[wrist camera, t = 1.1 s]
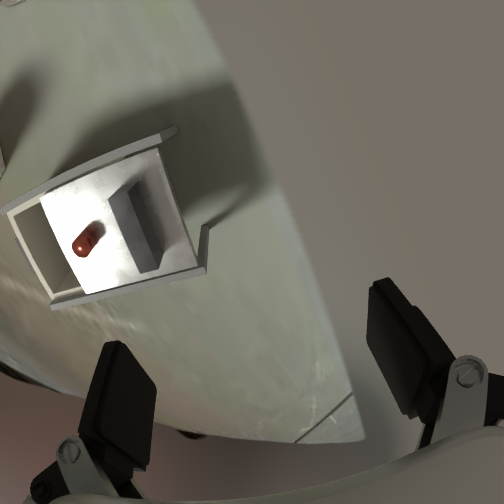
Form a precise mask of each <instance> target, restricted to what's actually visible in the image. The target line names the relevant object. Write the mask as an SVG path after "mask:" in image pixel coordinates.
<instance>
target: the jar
mask: <svg viewBox="0 0 504 504" xmlns="http://www.w3.org/2000/svg"><path fill="white" fill-rule="evenodd" d="M4 170H5V164H4V160H3V156H2V152H1V147H0V178H1V176H2V174H3V172H4Z"/></svg>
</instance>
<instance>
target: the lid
mask: <svg viewBox="0 0 504 504" xmlns="http://www.w3.org/2000/svg"><path fill="white" fill-rule="evenodd" d="M39 199H40V201H41V204H42V206H43V209H44V211H45V213H46V216H47V218H48V220H49V222H50V225H51V227H52V229H53V231H54V233H55V236H56V238H57V240H58V242H59V244H60V246H61V248H62V250H63V252H64V254H65V256H66V258H67V260H68V262H69V263H70V265H71V267H72V269H73V271H74V273H75V275H76V276H77V278H78V280H79V282H80V284H81V285H82V287H83V289H84V290H85V292H86V294H89V293H93V292H97V291H101V290H105V289H109V288H113V287H117V286H121V285H125V284H129V283H133V282H137V281H141V280H145V279H149V278H153V277H157V276H161V275H165V274H169V273H172V272H176V271H180V270H184V269H188V268H192V267H196V266H198V258H197V255H196V252H195V250H194V247H193V244H192V241H191V239H190V236H189V233H188V230H187V227H186V225H185V222H184V219H183V216H182V213H181V210H180V207H179V204H178V201H177V199H176V196H175V193H174V190H173V187H172V184H171V180H170V177H169V174H168V171H167V168H166V165H165V162H164V159H163V155H162V152H161V149H160V146H158V147H156V148H153V149H150V150H147V151H144V152H141V153H139V154H136V155H133V156H130V157H128V158H125V159H123V160H120V161H117V162H115V163H112V164H110V165H107V166H105V167H103V168H100V169H98V170H95V171H93V172H91V173H89V174H86V175H84V176H82V177H80V178H77V179H75V180H73V181H71V182H69V183H67V184H64V185H62V186H60V187H58V188H56V189H54V190H52V191H50V192H48V193H46V194H44V195H43V196H41V197H40V198H39Z"/></svg>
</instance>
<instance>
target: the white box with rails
mask: <svg viewBox="0 0 504 504" xmlns="http://www.w3.org/2000/svg"><path fill="white" fill-rule="evenodd" d="M177 132H179V130H178V126H177V125H175V126H172V127H169V128H167V129H165V130H163V131H161V132H158V133H156V134H154V135H152V136H149V137H146V138H143V139H141V140H138V141H135V142H133V143H130V144H127V145H125V146H122V147H120V148H117V149H115V150H112V151H110V152H108V153H105V154H103V155H101V156H98V157H96V158H94V159H91V160H89V161H87V162H85V163H83V164H80V165H78V166H76V167H74V168H72V169H70V170H68V171H66V172H64V173H62V174H60V175H58V176H56V177H54V178H52V179H50V180H48V181H46V182H44V183H42V184H41V185H39V186H37V187H35V188H33V189H31V190H30V191H28V192H26V193H24V194H23V195H21V196H19V197H18V198H16V199H14V200H13V201H11V202H9V203H8V204H6V205H5V206H3V207H2V208H0V213H1V216H2V215H4V214H5V213H7V215H8V217H9V219H10V222H11V224H12V226H13V228H14V231H15V233H16V235H17V238H16V239H15V240H16V242H17V244H18V246H19V248H20V250H21V252H22V254H23V256H24V257H25V259H26V261H27V263H28V265H29V267H30V269H31V270H32V272H33V274H34V273H36V274H37V275H38V277H39V279H40V281H41V282H42V284H43V286H44V288H45V289H46V291H47V292H48V294H49V296H50V297H51V299H52V300H53V301H52V302H51V303H50V305H49V306H50V307H51V309H52V310H57V309H62V308H66V307H70V306H75V305H79V304H83V303H87V302H92V301H96V300H100V299H104V298H109V297H113V296H117V295H121V294H125V293H130V292H134V291H138V290H142V289H146V288H150V287H155V286H159V285H163V284H167V283H171V282H175V281H179V280H183V279H187V278H191V277H196V276H200V275H204V274H207V257H208V240H209V228H208V225H204V226H201V232H200V239H199V248H198V256H197V258H198V266H196V267H192V268H188V269H184V270H180V271H176V272H172V273H169V274H165V275H161V276H157V277H153V278H149V279H145V280H141V281H137V282H133V283H129V284H125V285H121V286H117V287H113V288H109V289H105V290H101V291H97V292H93V293H89V294H86V292H85V290H84V289H83V287H82V285H81V284H80V282H79V280H78V278H77V276H76V275H75V273H74V271H73V269H72V267H71V265H70V263H69V262H68V260H67V258H66V256H65V254H64V252H63V250H62V248H61V246H60V244H59V242H58V240H57V238H56V236H55V233H54V231H53V229H52V227H51V225H50V222H49V220H48V218H47V216H46V213H45V211H44V209H43V206H42V204H41V201H40V199H39V198H40V197H41V196H43V195H44V194H46V193H48V192H50V191H52V190H54V189H56V188H58V187H60V186H62V185H64V184H67V183H69V182H71V181H73V180H75V179H77V178H80V177H82V176H84V175H86V174H89V173H91V172H93V171H95V170H98V169H100V168H103V167H105V166H107V165H110V164H112V163H115V162H117V161H120V160H123V159H125V158H126V157H125V155H128V154H131V153H133V152H136V151H139V150H141V149H144V148H147V147H150V146H153V145H156V144H159V143H162V142H163V141H165V140H166V139H168V138H169V137H171V136H173V135H174V134H176V133H177ZM83 292H85V293H83ZM79 293H81V294H79ZM75 294H77V295H75ZM71 295H73V296H71ZM67 296H69V297H67ZM63 297H65V298H63ZM60 298H61V299H60ZM56 299H57V300H56Z"/></svg>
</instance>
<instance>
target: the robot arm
mask: <svg viewBox="0 0 504 504" xmlns="http://www.w3.org/2000/svg"><path fill="white" fill-rule="evenodd" d="M23 1H25V0H0V5H2V6H7V7H9V6H14V5H17V4H19V3H21V2H23ZM366 340H367V344H368V346H369V348H370V350H371V352H372V354H373V356H374V358H375V360H376V362H377V364H378V366H379V368H380V369H381V372H382V373H383V376H384V378H385V380H386V381H387V383H388V385H389V388H390V390H391V392H392V394H393V396H394V398H395V400H396V402H397V404H398V406H399V408H400V411H401V412H402V414H403V415H406V414H407V415H408V417H409V419H413V418H415V417H417V416H419V418H420V420H421V422H422V423H423V426H422V430H421V433H420V436H419V440H418V443H417V446H416V449H415V452H413V453H411V454H408V455H406V456H404V457H401V458H399V459H397V460H394V461H392V462H389V463H386V464H384V465H381V466H378V467H376V468H373V469H370V470H367V471H365V472H362V473H359V474H356V475H353V476H349V477H346V478H343V479H340V480H336V481H333V482H329V483H325V484H321V485H318V486H314V487H310V488H305V489H301V490H296V491H290V492H285V493H279V494H273V495H267V496H260V497H253V498H245V499H244V498H243V499H234V500H218V501H158V500H149V499H148V498H147V496H146V495H145V493H144V492H143V490H142V489H141V488H140V486H139V485H138V484H137V482H136V481H135V479H134V478H133V471H146V465H148V464H149V461H150V448H151V438H152V428H153V419H154V410H155V402H156V394H157V390H156V386H155V384H154V382H153V381H152V380H151V379H150V377H149V376H148V375H147V373H146V372H145V371H144V369H143V368H142V367H141V365H140V364H139V363H138V361H137V360H136V358H135V357H134V356H133V354H132V353H131V351H130V350H129V348H128V347H127V346H126V344H124V343H122V342H121V341H119V340H117V341H110V342H106V343H104V345H103V348H102V351H101V354H100V357H99V360H98V363H97V366H96V369H95V372H94V375H93V378H92V382H91V385H90V388H89V391H88V395H87V398H86V402H85V405H84V409H83V413H82V417H81V420H80V425H79V428H78V433H79V437H78V436H75V435H68V436H66V437H64V438H63V439H62V440H61V441H60V442H59V443H58V445H57V448H56V459H57V460H56V461H55V462H54V463H53V464H51V465H50V466H49V467H48V468H46V469H45V470H44V471H43V472H41V473H40V474H39V475H37V476H36V477H35V478H34V479H33V481H32V483H31V487H30V493H31V496H30V495H28V496H27V497H26V499H25V500H24V502H23V503H22V504H504V376H501V375H496V374H492V373H488V369H487V367H486V365H485V363H484V362H483V361H482V360H481V359H479V358H477V357H475V356H472V355H464V356H461V357H459V358H457V359H456V358H455V357H454V355H453V354H452V352H451V351H450V349H449V348H448V346H447V345H446V344H445V342H444V341H443V340H442V338H441V337H440V335H439V334H438V333H437V331H436V330H435V329H434V327H433V326H432V325H431V323H430V322H429V321H428V319H427V318H426V317H425V316H424V314H423V313H422V312H421V310H420V309H419V308H418V307H417V306H412V305H411V304H410V303H409V301H408V300H407V299H406V297H405V296H404V295H403V294H402V292H401V291H400V290H399V289H398V287H397V286H396V285H395V284H394V282H393V281H392V280H391V279H390V278H388V277H387V278H384V279H380V280H377V281H374V282H373V286H372V287H370V288H369V300H368V319H367V335H366Z"/></svg>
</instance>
